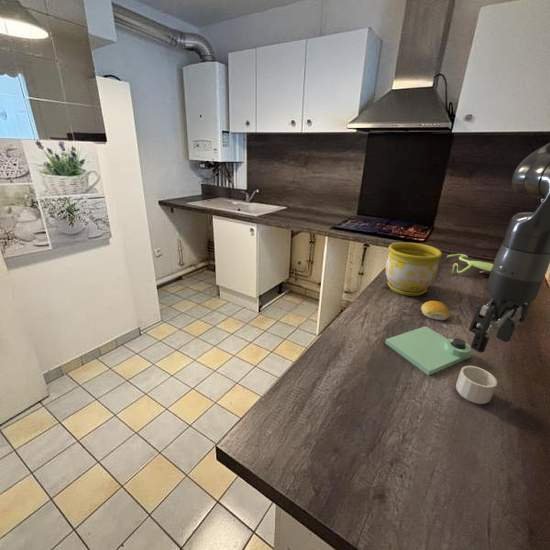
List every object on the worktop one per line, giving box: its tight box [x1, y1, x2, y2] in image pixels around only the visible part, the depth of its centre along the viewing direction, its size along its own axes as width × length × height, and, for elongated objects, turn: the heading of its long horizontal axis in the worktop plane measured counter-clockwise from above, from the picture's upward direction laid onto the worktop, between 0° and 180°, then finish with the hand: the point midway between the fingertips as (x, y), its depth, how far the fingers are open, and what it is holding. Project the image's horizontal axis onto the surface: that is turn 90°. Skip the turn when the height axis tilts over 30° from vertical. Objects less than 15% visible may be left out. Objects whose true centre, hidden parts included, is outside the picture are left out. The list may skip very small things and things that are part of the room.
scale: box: [384, 325, 473, 376], centre depth 78 cm, size 16×14×3 cm
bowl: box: [455, 365, 498, 405], centre depth 64 cm, size 6×6×5 cm
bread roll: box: [420, 300, 451, 322], centre depth 96 cm, size 8×9×4 cm
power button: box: [452, 337, 467, 349], centre depth 76 cm, size 3×3×2 cm
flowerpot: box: [385, 241, 443, 297], centre depth 111 cm, size 18×18×16 cm
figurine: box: [446, 253, 494, 275], centre depth 129 cm, size 18×27×6 cm
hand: (490, 344), depth 59 cm, fingers open, 8 cm apart
